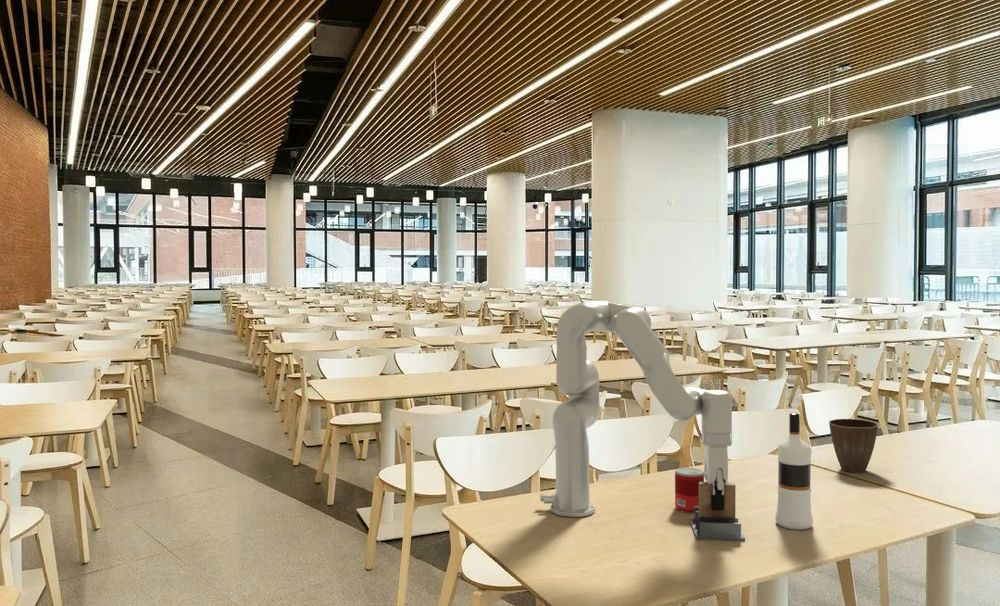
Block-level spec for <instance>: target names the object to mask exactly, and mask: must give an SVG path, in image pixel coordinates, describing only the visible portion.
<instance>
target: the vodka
mask: <svg viewBox="0 0 1000 606" xmlns="http://www.w3.org/2000/svg"><path fill="white" fill-rule="evenodd" d="M788 415H789V420H788V421H789V422H788V424H789V426H788V428H789V433H788V434H789V435H788V438H786V439H784V440H783V441H781V442H780V443H779V444H778V447H777V461H778V463H777V464H778V465H777V466H778V468H777V470H778V471H777V473H778V476H777V477H778V479H777V481H778V483H777V487H776V488H777V495H778V497H777V507H776V513H775V521H776V523H777V525H779V526H780V527H782V528H785V529H787V528H788V530H794V531H795V530H796V531H802V530H803V531H804V530H808V529H810V528H812V526H813V524H814V519H813V514H812V506H811V505H812V504H811V492H812V487H811V470H812V469H811V468H812V467H811V466H812V465H811V463H812V448H811V446H810V445H809V444H808V443H807V442H805V440H803V439H802V438H801V435H800V428H801V427H800V426H801V425H800V419H801V418H800V413H798V412H797V413H796V412H790V413H789V414H788Z"/></svg>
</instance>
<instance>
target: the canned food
mask: <svg viewBox="0 0 1000 606" xmlns="http://www.w3.org/2000/svg"><path fill="white" fill-rule="evenodd" d="M699 482H705V477H704V470H703V469H699V468H695V467H679V468H677V469H675V470H674V505H675V509H676V510H677V511H679V512H682V511H683V513H687V512H689V514H694V506H699ZM692 512H693V513H692Z"/></svg>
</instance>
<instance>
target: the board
mask: <svg viewBox="0 0 1000 606" xmlns="http://www.w3.org/2000/svg"><path fill="white" fill-rule="evenodd" d="M714 483H717V482H714ZM715 487H717V486H715ZM736 487H737V485H736V483H735V482H727V484H726V485H724V510H723V511H722V510H712V509H711V494H712V483H711V484H708V483H707V481H704V482H699V516H704V517H735V518H736V490H737V488H736Z"/></svg>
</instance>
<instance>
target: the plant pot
mask: <svg viewBox="0 0 1000 606" xmlns="http://www.w3.org/2000/svg"><path fill="white" fill-rule="evenodd" d="M828 421H829V422H828V425H829V431H830V436H831V441H832V443H833V445H832V446H833V448H834V452H835V456H836V458H837V461H838V463H839V466H840V469H841V470H842V471H844V470H845V471H844V472H847V471H849V472H848V473H853V472H861V473H865V472H866V470H867V469H868V466H869V463H870V461H871V458H872V456H873V451H874V448H875V444H876V439H877V435H878V430H879V429H878V427H879V424H878V423H877V422H874V421H870V420H864V419H858V418H857V419H856V418H836V419H832V420H828Z"/></svg>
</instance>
